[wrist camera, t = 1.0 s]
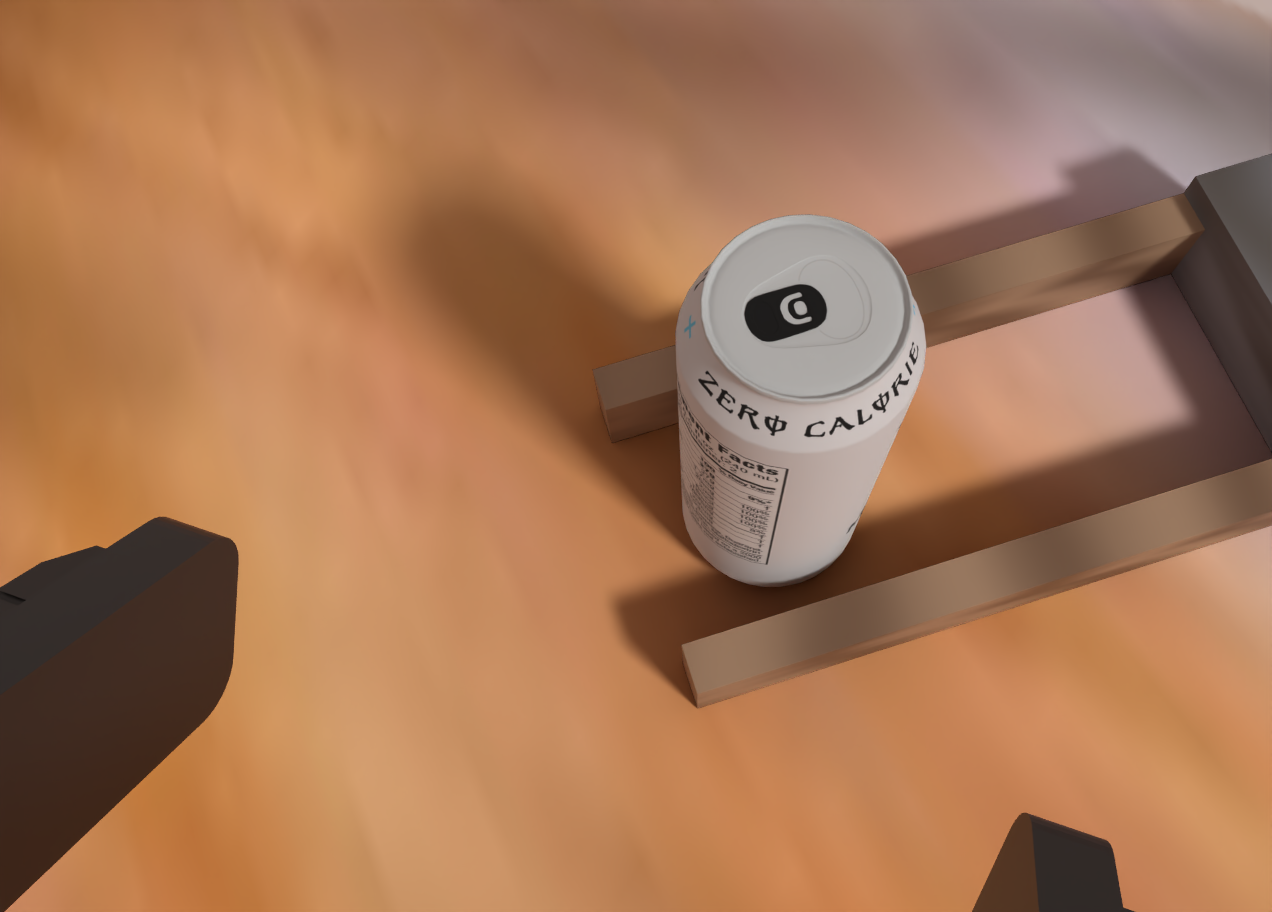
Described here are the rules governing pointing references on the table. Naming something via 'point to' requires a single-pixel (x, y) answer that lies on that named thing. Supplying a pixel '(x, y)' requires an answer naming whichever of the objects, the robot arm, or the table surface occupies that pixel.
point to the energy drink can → (791, 393)
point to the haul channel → (1060, 556)
